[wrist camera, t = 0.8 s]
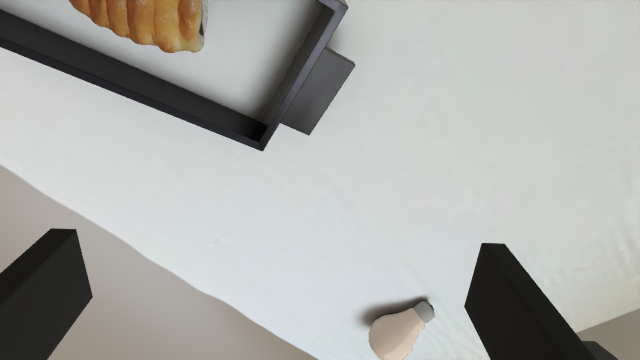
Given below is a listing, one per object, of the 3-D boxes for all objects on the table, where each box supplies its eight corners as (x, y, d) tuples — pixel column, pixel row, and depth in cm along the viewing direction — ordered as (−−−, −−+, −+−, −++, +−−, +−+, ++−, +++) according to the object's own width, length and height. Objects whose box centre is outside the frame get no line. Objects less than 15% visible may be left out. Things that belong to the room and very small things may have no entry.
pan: (-105, -26, 25) (-148, -12, 23) (-116, -297, 18) (-180, -323, 16) (289, 141, 37) (291, 163, 34) (370, 12, 30) (381, 27, 27)
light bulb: (441, 319, 52) (377, 369, 53) (452, 329, 57) (393, 375, 57) (412, 281, 56) (353, 328, 57) (424, 294, 61) (370, 337, 62)
